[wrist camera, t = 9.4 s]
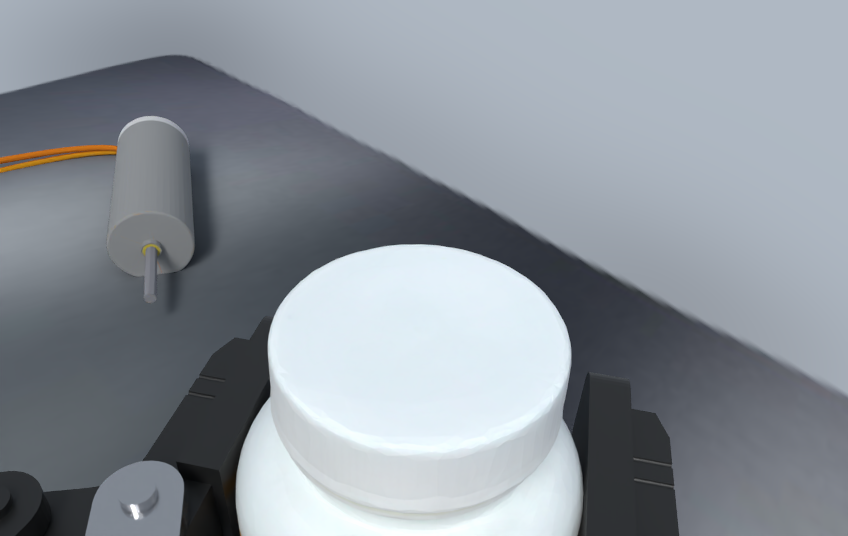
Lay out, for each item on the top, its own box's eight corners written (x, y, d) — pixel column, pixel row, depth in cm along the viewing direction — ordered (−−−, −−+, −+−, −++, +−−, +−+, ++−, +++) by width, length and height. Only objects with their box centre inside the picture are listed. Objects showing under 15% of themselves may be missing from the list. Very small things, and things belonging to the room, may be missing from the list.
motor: (196, 144, 57) (175, 87, 54) (209, 318, 40) (180, 251, 37) (-106, 216, 54) (-147, 160, 51) (-229, 439, 37) (-302, 377, 34)
